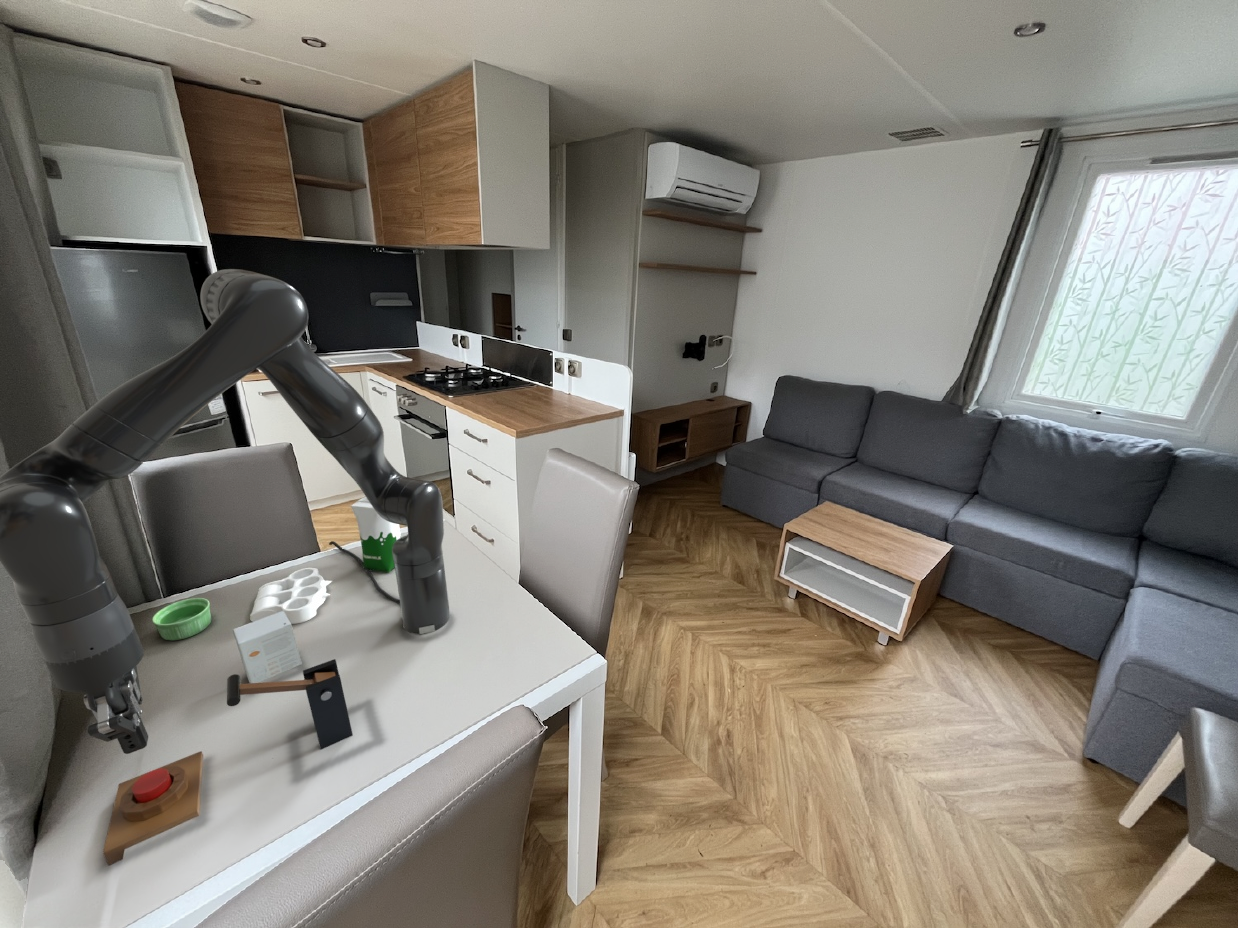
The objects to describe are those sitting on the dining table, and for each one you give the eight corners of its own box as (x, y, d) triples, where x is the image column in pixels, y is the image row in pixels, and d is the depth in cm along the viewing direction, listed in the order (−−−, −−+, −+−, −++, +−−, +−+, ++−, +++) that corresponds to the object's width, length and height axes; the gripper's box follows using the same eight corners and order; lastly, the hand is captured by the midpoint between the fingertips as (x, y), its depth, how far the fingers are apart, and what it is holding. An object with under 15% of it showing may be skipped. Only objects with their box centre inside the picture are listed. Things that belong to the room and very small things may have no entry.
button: (138, 786, 67) (134, 777, 66) (173, 772, 69) (169, 763, 68) (134, 808, 64) (129, 799, 63) (170, 793, 66) (166, 783, 65)
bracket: (298, 778, 72) (279, 710, 68) (293, 735, 79) (275, 671, 74) (379, 740, 78) (367, 676, 74) (368, 703, 85) (356, 643, 81)
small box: (296, 654, 96) (284, 609, 92) (304, 669, 92) (292, 623, 88) (246, 675, 90) (231, 628, 87) (252, 692, 87) (237, 644, 83)
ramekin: (158, 649, 96) (151, 630, 95) (158, 626, 103) (152, 608, 101) (216, 630, 102) (210, 612, 100) (213, 609, 108) (207, 592, 107)
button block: (124, 795, 69) (114, 774, 68) (205, 761, 74) (198, 741, 73) (108, 865, 61) (97, 844, 59) (202, 822, 66) (193, 801, 64)
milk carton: (410, 556, 131) (400, 487, 124) (389, 575, 122) (377, 501, 115) (379, 553, 132) (368, 484, 125) (357, 571, 124) (344, 498, 117)
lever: (224, 710, 65) (229, 694, 65) (225, 686, 69) (229, 671, 69) (333, 700, 74) (338, 685, 74) (329, 679, 78) (333, 666, 77)
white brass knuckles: (263, 588, 116) (334, 574, 122) (249, 634, 101) (330, 616, 107) (260, 576, 115) (331, 562, 121) (245, 621, 100) (328, 603, 106)
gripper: (123, 658, 55) (170, 769, 61) (140, 598, 65) (179, 699, 71) (23, 688, 51) (84, 804, 57) (58, 619, 61) (107, 725, 67)
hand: (137, 746), depth 64 cm, fingers closed
